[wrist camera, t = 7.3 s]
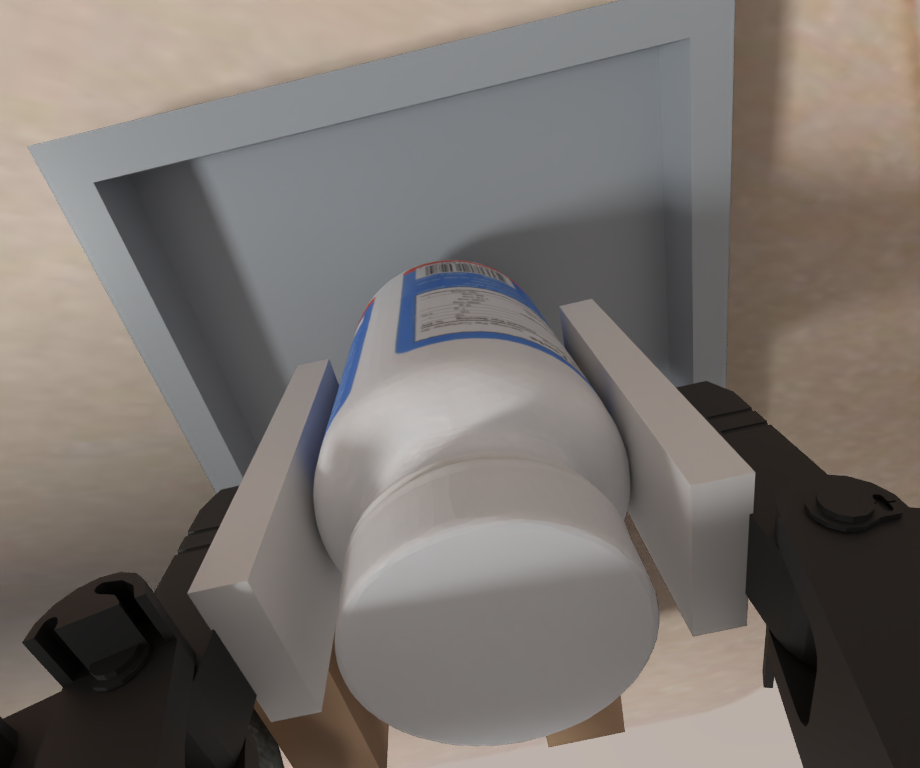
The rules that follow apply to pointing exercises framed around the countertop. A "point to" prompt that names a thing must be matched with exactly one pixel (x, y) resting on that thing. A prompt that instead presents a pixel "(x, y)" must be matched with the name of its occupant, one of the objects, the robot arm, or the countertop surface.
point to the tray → (417, 203)
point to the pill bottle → (477, 518)
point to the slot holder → (380, 730)
